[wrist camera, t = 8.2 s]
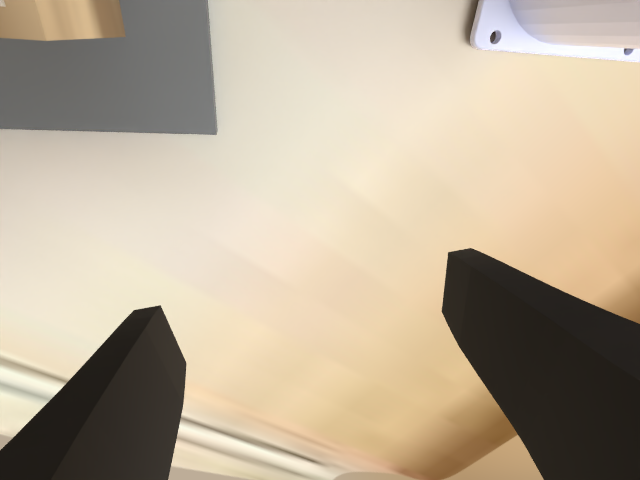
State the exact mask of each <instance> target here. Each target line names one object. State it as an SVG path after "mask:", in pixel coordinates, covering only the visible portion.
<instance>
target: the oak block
mask: <svg viewBox="0 0 640 480" xmlns="http://www.w3.org/2000/svg"><path fill="white" fill-rule="evenodd" d="M115 37H126V35H125V30H124V24H123V19H122V13H121V8H120V2H119V0H0V38H11V39H26V40H42V41H53V40H73V39H94V38H115Z"/></svg>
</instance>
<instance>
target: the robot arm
mask: <svg viewBox="0 0 640 480" xmlns="http://www.w3.org/2000/svg"><path fill="white" fill-rule="evenodd" d="M494 31H495V33H496V38H495V40H494V42H492V43H491V42H490V36H491V34H492V33H493V32H494ZM470 42H471V45H472V46H473V48H475V49H481V50H494V51H506V52H519V53H531V54H544V55H556V56H569V57H581V58H594V59H606V60H619V61H631V62H640V0H479V2H478V6H477V10H476V14H475V19H474V23H473V27H472V31H471V35H470ZM624 48H626V50H625V52H624ZM442 313H443V315H444V317H445V320H446V322H447V324H448V326H449V328H450V330H451V332H452V334H453V336H454V338H455V340H456V341H457V343H458V345H459V347H460V348H461V350H462V352H463V353H464V355H465V356H466V358H467V359H468V361H469V362H470V364H471V365H472V367H473V368H474V370H475V371H476V373H477V374H478V376H479V377H480V379H481V380H482V381H483V383H484V384H485V386H486V387H487V389H488V390H489V392H490V393H491V395H492V396H493V398H494V399H495V401H496V402H497V404H498V405H499V406H500V408H501V409H502V411H503V412H504V414H505V415H506V417H507V418H508V420H509V421H510V423H511V424H512V426H513V427H514V429H515V430H516V432H517V434H518V435H519V437H520V438H521V440H522V441H523V443H524V445H525V446H526V448H527V450H528V452H529V453H530V455H531V457H532V459H533V461H534V463H535V464H536V466H537V468H538V470H539V472H540V473H541V475H542V477H543V479H544V480H640V324H638V323H636V322H633V321H631V320H628V319H626V318H623V317H621V316H618V315H616V314H613V313H611V312H609V311H606V310H604V309H602V308H599V307H597V306H595V305H592V304H590V303H588V302H585V301H583V300H581V299H579V298H576V297H574V296H572V295H570V294H568V293H565V292H563V291H561V290H559V289H557V288H555V287H552V286H550V285H548V284H546V283H544V282H542V281H540V280H538V279H536V278H534V277H531V276H529V275H527V274H525V273H523V272H521V271H519V270H517V269H515V268H513V267H511V266H509V265H507V264H505V263H503V262H501V261H498V260H496V259H494V258H492V257H490V256H488V255H486V254H484V253H481V252H479V251H477V250H474V249H472V248H469V249H464V250H458V251H453V252H448V260H447V269H446V279H445V288H444V297H443V306H442ZM185 376H186V361H185V359H184V357H183V355H182V352H181V350H180V348H179V346H178V343H177V341H176V339H175V337H174V334H173V332H172V330H171V328H170V326H169V323H168V321H167V319H166V317H165V314H164V312H163V310H162V308H161V305H160V306H155V307H149V308H144V309H138V310H134V311H133V312H132V313H131V314H130V315H129V316H128V317H127V318H126V319H125V320H124V321H123V322H122V323H121V324H120V326H119V327H118V328H117V329H116V330H115V331H114V332H113V333H112V334H111V335H110V337H109V338H108V339H107V340H106V341H105V342H104V343H103V344H102V345H101V347H100V348H99V349H98V350H97V351H96V352H95V353H94V354H93V355H92V356H91V357H90V359H89V360H88V361H87V362H86V363H85V364H84V365H83V366H82V367H81V368H80V369H79V371H78V372H77V373H76V374H75V375H74V376H73V377H72V378H71V379H70V380H69V381H68V382H67V384H66V385H65V386H64V387H63V388H62V389H61V390H60V391H59V392H58V393H57V394H56V395H55V396H54V397H53V398H52V399H51V400H50V401H49V402H48V403H47V404H46V405H45V406H44V407H43V408H42V409H41V410H40V411H39V412H38V413H37V414H36V415H35V416H34V417H33V418H32V419H31V420H30V421H29V422H28V423H27V424H26V425H25V426H24V427H23V428H22V429H21V430H20V432H19V433H18V434H17V435H16V436H15V437H14V438H13V439H12V440H11V441H9V442H8V444H6V445H5V446H4V447H3V448H2V449H1V450H0V480H168V477H169V472H170V467H171V463H172V458H173V453H174V448H175V443H176V438H177V433H178V428H179V423H180V418H181V413H182V408H183V401H184V390H185Z"/></svg>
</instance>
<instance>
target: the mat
mask: <svg viewBox="0 0 640 480" xmlns="http://www.w3.org/2000/svg"><path fill="white" fill-rule="evenodd" d="M119 2H120V8H121V13H122V19H123V24H124V30H125V35H126V37H115V38H94V39H73V40H53V41H42V40H26V39H11V38H0V129H27V130H63V131H99V132H136V133H172V134H208V135H216V134H217V120H216V106H215V93H214V80H213V66H212V53H211V40H210V26H209V13H208V0H119Z"/></svg>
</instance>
